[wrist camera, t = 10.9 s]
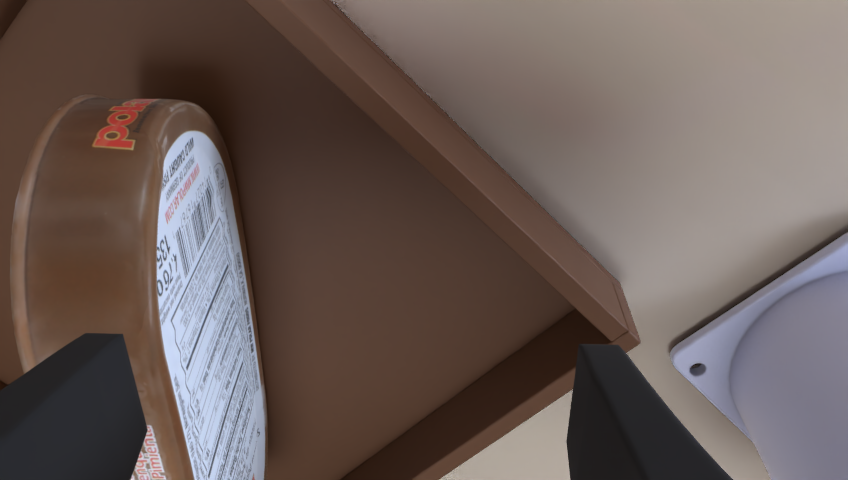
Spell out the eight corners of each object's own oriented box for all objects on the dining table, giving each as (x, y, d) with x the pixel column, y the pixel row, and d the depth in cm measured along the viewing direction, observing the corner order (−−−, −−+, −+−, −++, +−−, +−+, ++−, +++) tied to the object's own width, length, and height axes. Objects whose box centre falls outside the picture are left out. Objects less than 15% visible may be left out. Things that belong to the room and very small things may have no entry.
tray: (621, 284, 23) (642, 343, 20) (260, 544, 29) (241, 613, 27) (132, -194, 17) (72, -198, 14) (-176, 269, 24) (-255, 323, 21)
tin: (124, 52, 19) (-84, 189, 12) (242, 53, 19) (107, 192, 12) (208, 462, 27) (113, 703, 19) (294, 464, 26) (230, 708, 19)
